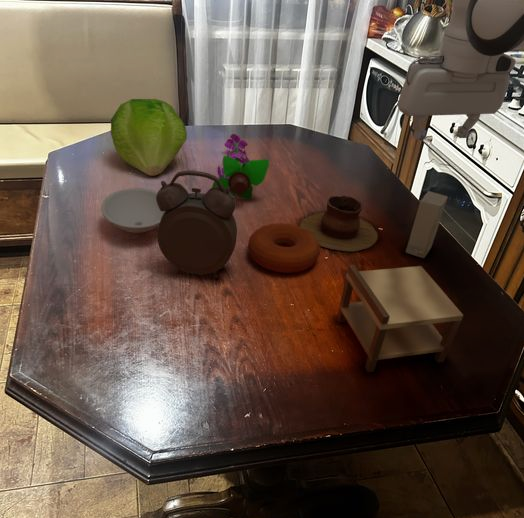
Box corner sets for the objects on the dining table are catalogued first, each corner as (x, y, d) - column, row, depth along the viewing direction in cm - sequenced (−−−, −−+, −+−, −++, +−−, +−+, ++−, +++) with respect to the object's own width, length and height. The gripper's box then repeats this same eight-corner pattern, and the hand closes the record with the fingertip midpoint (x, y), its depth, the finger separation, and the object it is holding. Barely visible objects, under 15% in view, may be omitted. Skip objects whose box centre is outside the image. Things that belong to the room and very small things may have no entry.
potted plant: (221, 225, 122) (217, 174, 150) (283, 193, 119) (268, 147, 146) (194, 179, 115) (196, 135, 142) (259, 144, 112) (248, 105, 139)
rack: (406, 311, 96) (423, 258, 88) (443, 362, 86) (467, 307, 78) (336, 318, 93) (348, 264, 85) (367, 372, 83) (383, 316, 75)
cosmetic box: (423, 259, 110) (441, 207, 102) (404, 252, 112) (419, 200, 104) (431, 247, 114) (449, 196, 106) (412, 240, 116) (428, 190, 108)
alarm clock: (237, 264, 103) (242, 167, 90) (231, 285, 98) (235, 185, 84) (166, 255, 104) (160, 157, 90) (156, 275, 98) (149, 174, 85)
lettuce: (104, 177, 127) (139, 137, 116) (98, 113, 133) (131, 68, 122) (162, 198, 139) (199, 163, 128) (154, 138, 145) (189, 100, 134)
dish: (104, 209, 116) (101, 188, 112) (168, 207, 119) (167, 187, 115) (104, 250, 103) (100, 228, 100) (176, 247, 106) (175, 225, 103)
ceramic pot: (333, 205, 126) (338, 178, 121) (393, 235, 117) (401, 206, 113) (283, 227, 116) (286, 198, 111) (344, 261, 107) (351, 231, 102)
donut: (283, 232, 114) (285, 212, 111) (332, 262, 107) (337, 241, 103) (232, 253, 106) (233, 231, 103) (281, 287, 99) (284, 265, 95)
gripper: (421, 61, 83) (400, 146, 92) (524, 61, 89) (494, 142, 98) (402, 51, 88) (383, 133, 97) (501, 52, 93) (474, 130, 102)
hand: (440, 138), depth 97 cm, fingers open, 8 cm apart
